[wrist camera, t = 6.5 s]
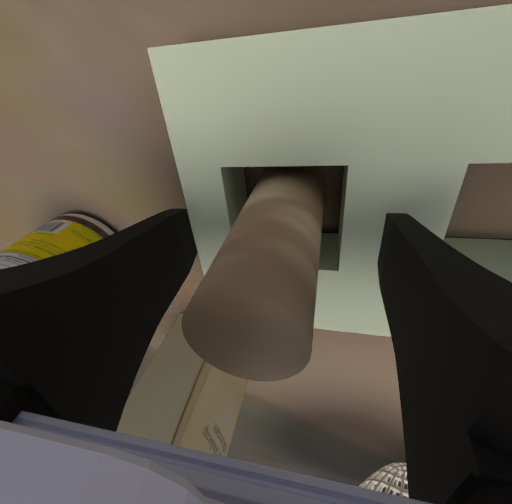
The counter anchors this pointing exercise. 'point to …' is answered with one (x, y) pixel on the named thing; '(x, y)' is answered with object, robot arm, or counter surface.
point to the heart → (383, 475)
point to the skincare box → (184, 399)
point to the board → (345, 133)
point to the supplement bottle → (54, 239)
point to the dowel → (263, 281)
